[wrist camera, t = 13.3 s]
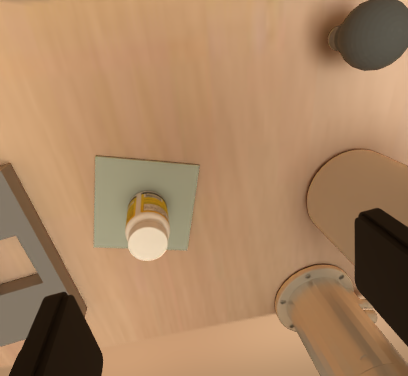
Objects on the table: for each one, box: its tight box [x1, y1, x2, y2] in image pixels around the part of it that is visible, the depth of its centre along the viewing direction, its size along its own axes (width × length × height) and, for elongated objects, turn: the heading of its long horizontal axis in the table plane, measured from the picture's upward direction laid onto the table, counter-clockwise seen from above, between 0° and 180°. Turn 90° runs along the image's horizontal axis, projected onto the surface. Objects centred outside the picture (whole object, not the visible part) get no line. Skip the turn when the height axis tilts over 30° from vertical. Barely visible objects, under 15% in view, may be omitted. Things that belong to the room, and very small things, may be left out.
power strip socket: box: [0, 163, 87, 347], centre depth 38 cm, size 22×11×3 cm, turn 14°
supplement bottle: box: [125, 191, 170, 261], centre depth 36 cm, size 5×5×8 cm
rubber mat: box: [94, 156, 200, 250], centre depth 40 cm, size 12×12×1 cm
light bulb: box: [328, 0, 408, 71], centre depth 31 cm, size 6×6×10 cm
